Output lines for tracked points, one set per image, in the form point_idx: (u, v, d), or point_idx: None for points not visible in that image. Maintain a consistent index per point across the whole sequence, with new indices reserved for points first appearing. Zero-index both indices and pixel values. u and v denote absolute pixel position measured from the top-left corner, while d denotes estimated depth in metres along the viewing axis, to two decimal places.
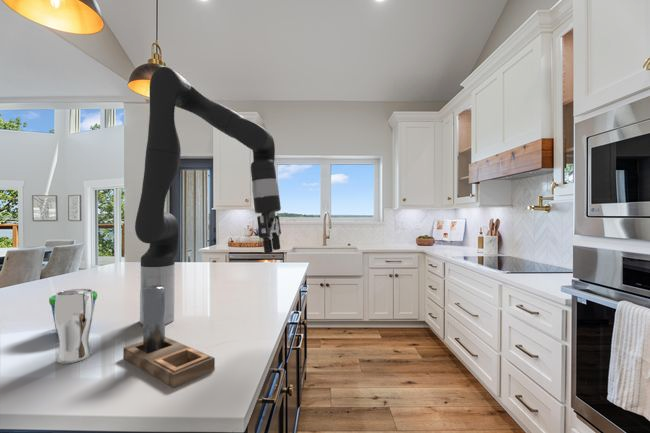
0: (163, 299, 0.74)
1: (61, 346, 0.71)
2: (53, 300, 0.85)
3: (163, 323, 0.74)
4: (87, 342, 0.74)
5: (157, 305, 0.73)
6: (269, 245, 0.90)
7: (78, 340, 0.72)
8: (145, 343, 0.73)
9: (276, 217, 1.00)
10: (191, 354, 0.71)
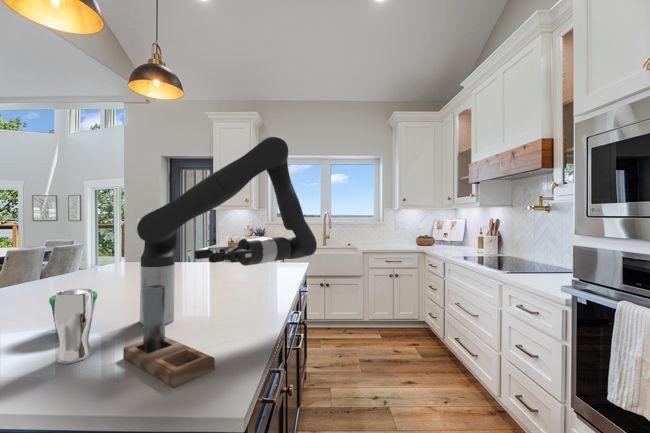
0: (163, 299, 0.74)
1: (61, 346, 0.71)
2: (53, 300, 0.85)
3: (163, 323, 0.74)
4: (87, 342, 0.74)
5: (157, 305, 0.73)
6: (218, 260, 0.80)
7: (78, 340, 0.72)
8: (145, 343, 0.73)
9: None
10: (191, 354, 0.71)
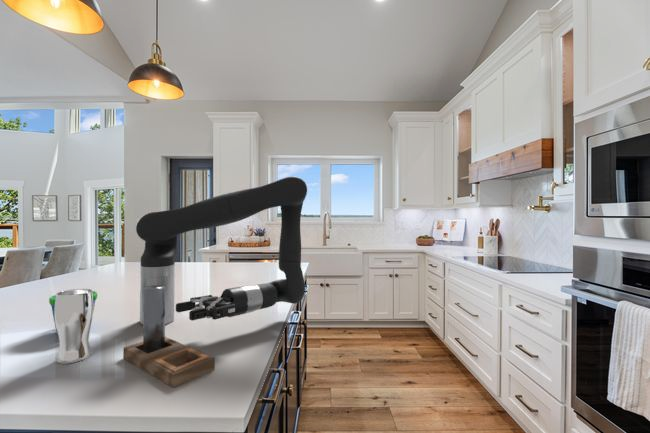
0: (163, 299, 0.74)
1: (61, 346, 0.71)
2: (53, 300, 0.85)
3: (163, 323, 0.74)
4: (87, 342, 0.74)
5: (157, 305, 0.73)
6: (199, 317, 0.77)
7: (78, 340, 0.72)
8: (145, 343, 0.73)
9: None
10: (191, 354, 0.71)
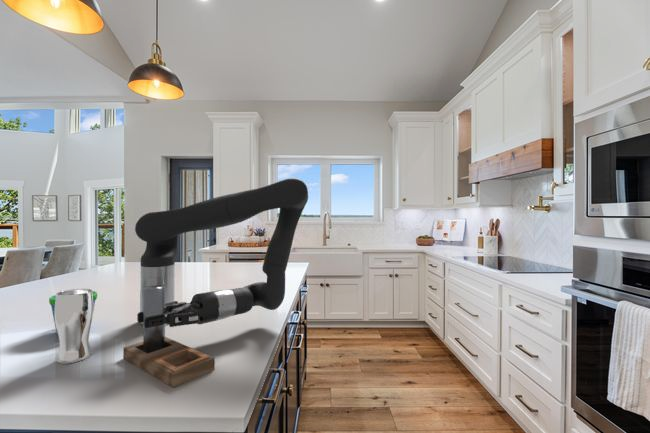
0: (163, 299, 0.74)
1: (61, 346, 0.71)
2: (53, 300, 0.85)
3: None
4: (87, 342, 0.74)
5: (157, 305, 0.73)
6: (155, 324, 0.72)
7: (78, 340, 0.72)
8: (145, 343, 0.72)
9: None
10: (191, 354, 0.71)
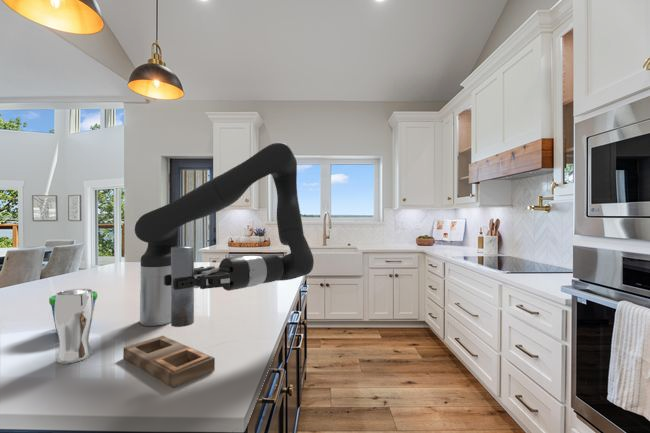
0: (192, 260, 0.68)
1: (61, 346, 0.71)
2: (53, 300, 0.85)
3: None
4: (87, 342, 0.74)
5: (186, 266, 0.67)
6: (185, 286, 0.66)
7: (78, 340, 0.72)
8: (174, 307, 0.66)
9: None
10: (191, 354, 0.71)
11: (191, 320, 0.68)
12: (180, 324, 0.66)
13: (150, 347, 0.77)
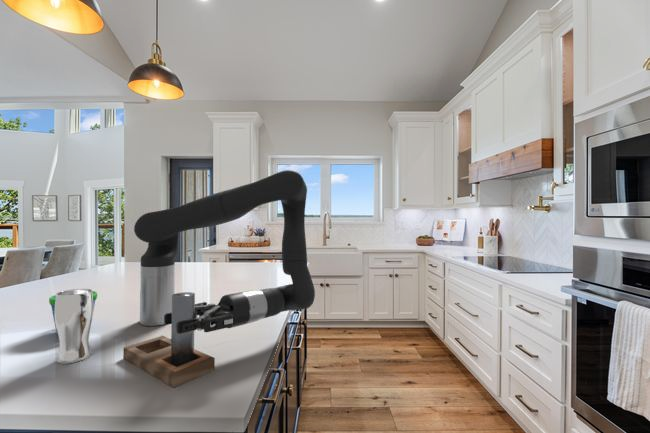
0: (193, 308, 0.68)
1: (61, 346, 0.71)
2: (53, 300, 0.85)
3: (193, 334, 0.68)
4: (87, 342, 0.74)
5: (187, 314, 0.66)
6: None
7: (78, 340, 0.72)
8: (174, 356, 0.66)
9: None
10: None
11: None
12: None
13: (150, 347, 0.77)
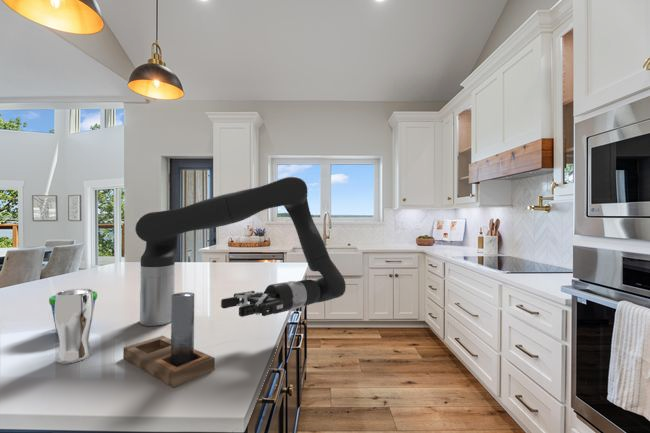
0: (192, 308, 0.68)
1: (61, 346, 0.71)
2: (53, 300, 0.85)
3: (192, 334, 0.68)
4: (87, 342, 0.74)
5: (187, 314, 0.66)
6: (249, 313, 0.74)
7: (78, 340, 0.72)
8: (173, 356, 0.66)
9: None
10: None
11: None
12: None
13: (150, 347, 0.77)
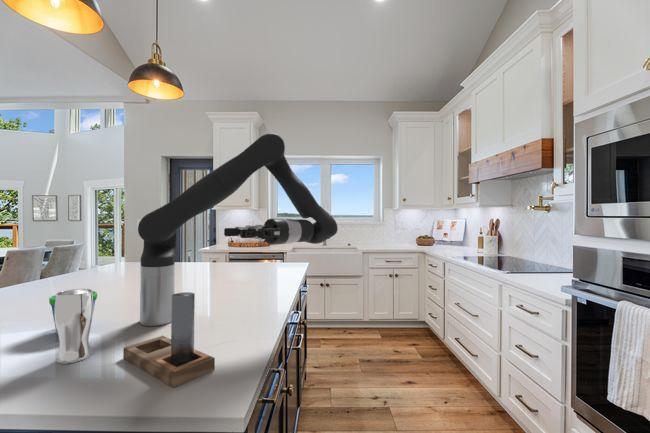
0: (193, 308, 0.68)
1: (61, 346, 0.71)
2: (53, 300, 0.85)
3: (192, 334, 0.68)
4: (87, 342, 0.74)
5: (187, 314, 0.66)
6: (249, 236, 0.83)
7: (78, 340, 0.72)
8: (174, 356, 0.66)
9: None
10: None
11: None
12: None
13: (150, 347, 0.77)
